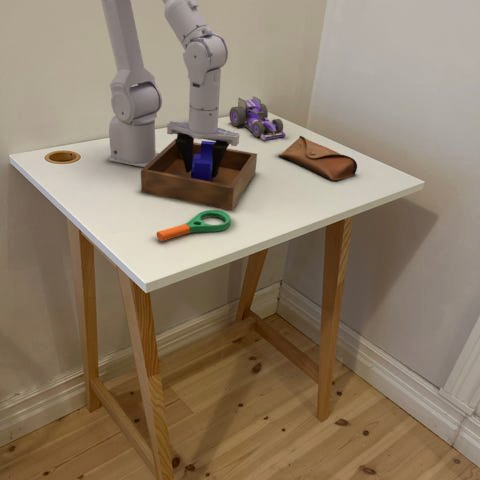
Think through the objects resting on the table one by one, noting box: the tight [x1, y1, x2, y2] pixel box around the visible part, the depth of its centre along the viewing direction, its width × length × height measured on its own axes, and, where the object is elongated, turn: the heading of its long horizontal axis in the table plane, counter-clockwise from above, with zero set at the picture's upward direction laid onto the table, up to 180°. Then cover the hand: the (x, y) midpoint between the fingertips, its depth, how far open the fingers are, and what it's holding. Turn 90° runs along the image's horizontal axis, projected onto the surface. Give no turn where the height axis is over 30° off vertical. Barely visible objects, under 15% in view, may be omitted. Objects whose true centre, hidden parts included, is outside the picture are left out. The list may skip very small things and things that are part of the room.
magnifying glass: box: [155, 209, 231, 242], centre depth 93 cm, size 15×6×2 cm, turn 131°
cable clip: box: [191, 140, 216, 182], centre depth 107 cm, size 12×4×6 cm, turn 177°
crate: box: [140, 138, 258, 211], centre depth 108 cm, size 19×19×5 cm
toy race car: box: [228, 95, 286, 142], centre depth 135 cm, size 10×15×6 cm, turn 33°
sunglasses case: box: [278, 135, 358, 181], centre depth 121 cm, size 18×7×7 cm, turn 44°
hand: (201, 173), depth 108 cm, fingers closed on cable clip, 5 cm apart
